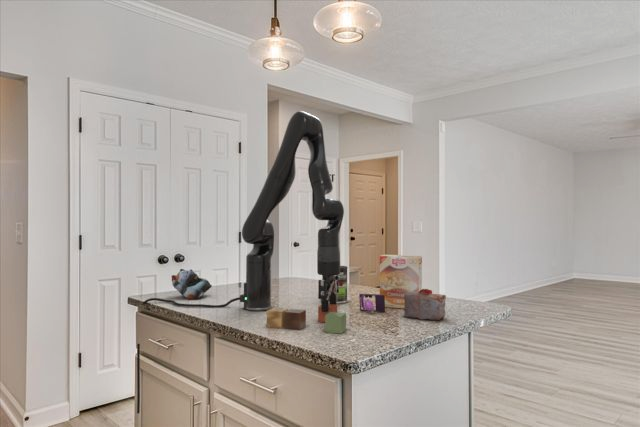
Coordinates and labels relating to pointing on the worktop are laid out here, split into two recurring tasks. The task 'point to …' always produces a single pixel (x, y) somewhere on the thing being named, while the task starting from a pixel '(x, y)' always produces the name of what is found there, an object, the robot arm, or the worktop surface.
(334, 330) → the sage block
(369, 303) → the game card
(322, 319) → the terracotta red block
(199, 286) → the blue-grey lumpy piece
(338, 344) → the worktop surface
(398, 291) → the coffeecake box
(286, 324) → the walnut block
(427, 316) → the food item
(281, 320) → the maple block
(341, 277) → the coffee can
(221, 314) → the worktop surface
